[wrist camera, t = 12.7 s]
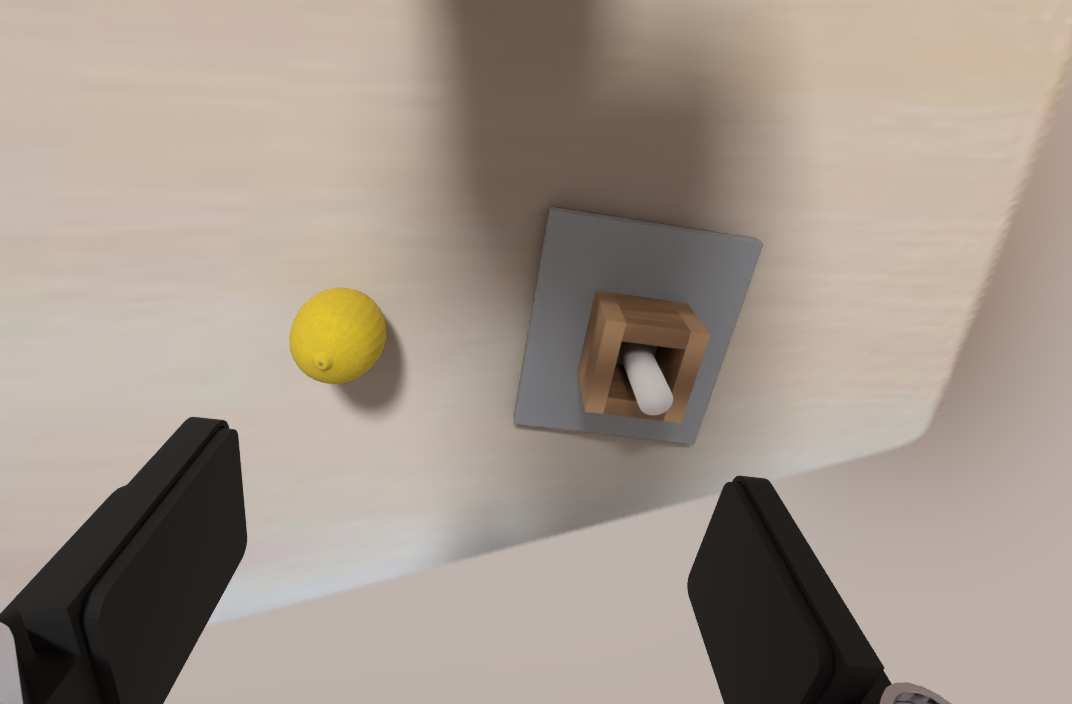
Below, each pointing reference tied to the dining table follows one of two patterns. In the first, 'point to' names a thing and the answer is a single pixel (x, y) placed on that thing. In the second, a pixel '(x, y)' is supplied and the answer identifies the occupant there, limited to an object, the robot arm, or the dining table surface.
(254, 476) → the dining table surface
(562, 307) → the grey peg board
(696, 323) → the brown wooden hollow block
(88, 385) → the dining table surface
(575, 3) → the dining table surface
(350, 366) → the lemon
